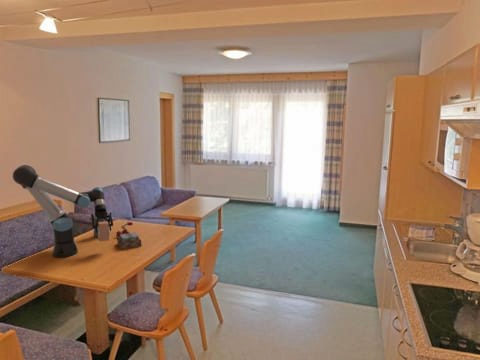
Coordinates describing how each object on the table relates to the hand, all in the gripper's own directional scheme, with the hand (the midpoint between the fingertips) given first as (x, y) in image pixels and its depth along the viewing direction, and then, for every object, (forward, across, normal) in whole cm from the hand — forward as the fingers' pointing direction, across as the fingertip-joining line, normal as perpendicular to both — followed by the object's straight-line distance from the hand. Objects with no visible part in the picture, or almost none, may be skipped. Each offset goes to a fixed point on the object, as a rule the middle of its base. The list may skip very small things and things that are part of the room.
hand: (104, 235), depth 244 cm
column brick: (0, 0, -5) cm, 5 cm away
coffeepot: (-21, -3, -38) cm, 44 cm away
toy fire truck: (-15, -19, -32) cm, 40 cm away
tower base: (+2, -18, -14) cm, 23 cm away
